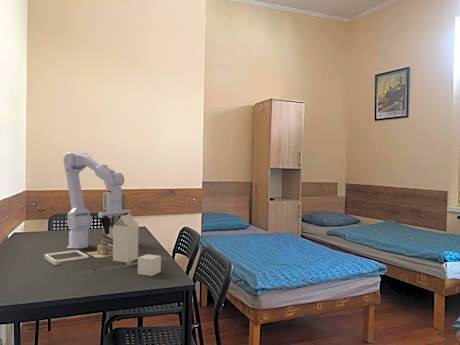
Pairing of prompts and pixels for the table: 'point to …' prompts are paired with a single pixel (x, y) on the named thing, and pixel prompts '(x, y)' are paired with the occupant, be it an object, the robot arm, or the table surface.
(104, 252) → the collar
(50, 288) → the table surface
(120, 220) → the milk carton
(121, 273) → the table surface
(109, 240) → the tall grey upright box
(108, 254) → the tan base plate
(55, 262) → the tray
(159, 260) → the white cube
